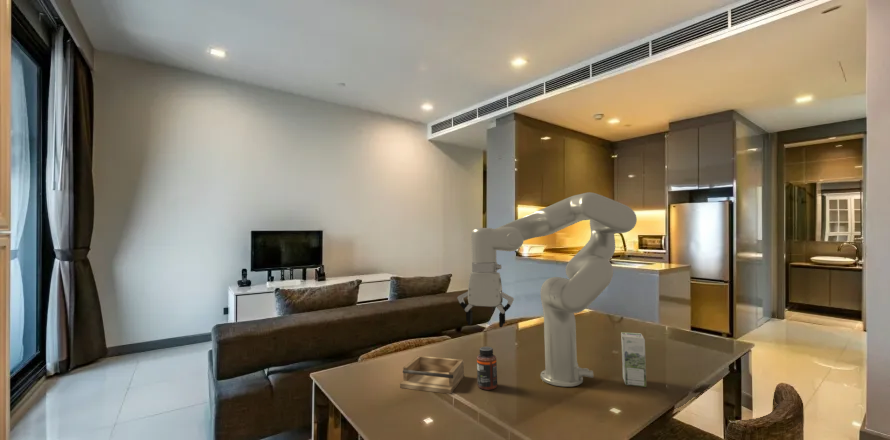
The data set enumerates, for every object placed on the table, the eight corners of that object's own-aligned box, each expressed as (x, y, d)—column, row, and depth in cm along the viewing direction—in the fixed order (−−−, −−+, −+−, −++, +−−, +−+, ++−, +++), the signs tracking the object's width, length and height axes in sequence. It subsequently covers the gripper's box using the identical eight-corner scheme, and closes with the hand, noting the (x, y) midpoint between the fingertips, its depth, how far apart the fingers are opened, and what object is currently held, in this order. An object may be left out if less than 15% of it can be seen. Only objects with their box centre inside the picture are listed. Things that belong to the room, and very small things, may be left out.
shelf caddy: (463, 376, 117) (463, 359, 117) (450, 393, 104) (450, 375, 104) (418, 371, 122) (417, 355, 122) (400, 387, 109) (399, 369, 109)
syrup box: (643, 380, 111) (641, 332, 112) (647, 387, 106) (644, 337, 106) (622, 378, 113) (620, 331, 114) (625, 385, 108) (623, 336, 108)
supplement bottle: (497, 383, 111) (496, 345, 112) (497, 391, 105) (496, 351, 106) (477, 382, 112) (476, 345, 112) (477, 390, 106) (476, 351, 106)
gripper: (514, 267, 111) (516, 324, 110) (460, 267, 117) (461, 320, 116) (510, 269, 104) (512, 330, 103) (453, 269, 110) (454, 326, 109)
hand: (485, 325), depth 110 cm, fingers open, 9 cm apart
